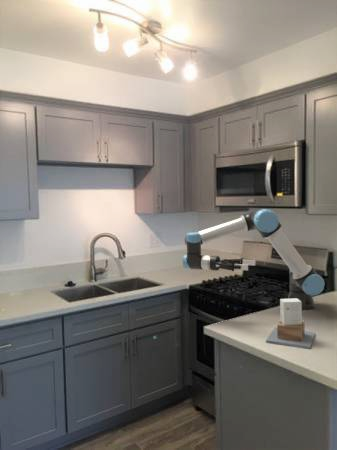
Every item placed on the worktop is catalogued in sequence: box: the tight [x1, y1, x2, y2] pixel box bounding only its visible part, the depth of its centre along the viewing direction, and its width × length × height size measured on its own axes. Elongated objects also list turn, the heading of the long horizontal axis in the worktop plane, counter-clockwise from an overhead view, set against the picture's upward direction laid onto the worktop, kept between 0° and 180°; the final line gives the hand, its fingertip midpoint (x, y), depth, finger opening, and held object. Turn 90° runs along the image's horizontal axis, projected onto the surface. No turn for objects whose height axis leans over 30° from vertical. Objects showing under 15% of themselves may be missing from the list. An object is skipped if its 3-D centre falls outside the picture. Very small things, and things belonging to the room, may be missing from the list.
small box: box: [279, 298, 303, 325], centre depth 168 cm, size 8×6×10 cm
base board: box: [265, 327, 316, 350], centre depth 169 cm, size 18×18×1 cm
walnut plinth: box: [276, 320, 306, 342], centre depth 169 cm, size 10×10×6 cm
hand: (251, 265), depth 187 cm, fingers open, 13 cm apart
